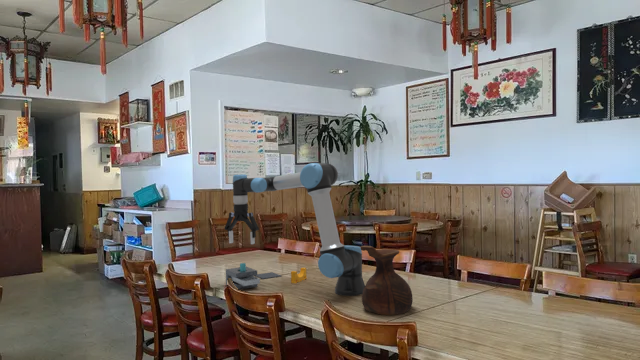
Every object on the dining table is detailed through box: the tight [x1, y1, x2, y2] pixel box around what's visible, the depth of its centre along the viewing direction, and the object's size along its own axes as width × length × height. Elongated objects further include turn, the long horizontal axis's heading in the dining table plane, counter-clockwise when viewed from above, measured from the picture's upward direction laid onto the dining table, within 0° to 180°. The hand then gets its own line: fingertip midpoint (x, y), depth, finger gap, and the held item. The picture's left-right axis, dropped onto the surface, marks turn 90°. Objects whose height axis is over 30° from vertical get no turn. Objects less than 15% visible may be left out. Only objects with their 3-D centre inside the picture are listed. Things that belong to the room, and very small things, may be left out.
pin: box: [239, 262, 247, 271], centre depth 260 cm, size 3×3×12 cm
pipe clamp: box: [290, 267, 308, 284], centre depth 270 cm, size 12×4×6 cm, turn 151°
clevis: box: [225, 266, 261, 290], centre depth 258 cm, size 20×12×8 cm, turn 33°
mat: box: [255, 271, 282, 280], centre depth 284 cm, size 12×12×1 cm
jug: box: [360, 245, 413, 316], centre depth 206 cm, size 22×22×30 cm
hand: (241, 243), depth 260 cm, fingers open, 13 cm apart
